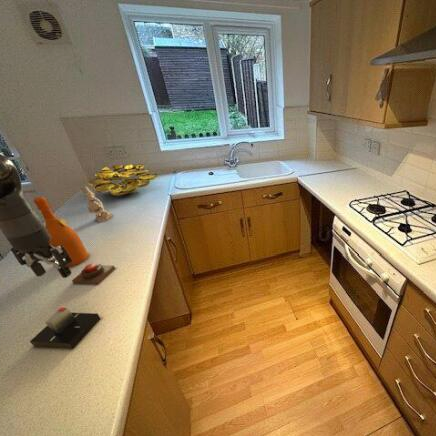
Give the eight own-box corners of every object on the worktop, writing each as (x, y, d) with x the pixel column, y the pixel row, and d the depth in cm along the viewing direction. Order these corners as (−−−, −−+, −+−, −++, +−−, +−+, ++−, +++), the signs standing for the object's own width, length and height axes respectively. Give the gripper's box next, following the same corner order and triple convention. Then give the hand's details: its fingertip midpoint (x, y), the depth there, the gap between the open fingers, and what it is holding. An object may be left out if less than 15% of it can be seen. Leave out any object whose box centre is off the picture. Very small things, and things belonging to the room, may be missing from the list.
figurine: (96, 218, 139) (80, 185, 129) (113, 214, 142) (99, 182, 132) (93, 224, 132) (76, 191, 122) (111, 221, 135) (96, 187, 125)
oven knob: (60, 334, 68) (50, 321, 66) (54, 334, 68) (44, 321, 66) (75, 319, 73) (67, 307, 70) (69, 319, 73) (60, 306, 70)
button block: (74, 284, 90) (69, 276, 88) (93, 269, 98) (88, 261, 96) (98, 285, 90) (94, 277, 88) (116, 269, 97) (112, 261, 96)
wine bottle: (74, 269, 98) (34, 203, 84) (54, 268, 100) (12, 202, 85) (95, 255, 107) (62, 193, 92) (76, 253, 108) (41, 192, 94)
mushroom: (96, 211, 147) (83, 184, 139) (92, 191, 178) (82, 168, 170) (166, 193, 169) (159, 169, 161) (152, 178, 200) (145, 157, 192)
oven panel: (35, 348, 68) (29, 341, 67) (66, 318, 77) (61, 311, 75) (74, 350, 67) (68, 343, 66) (101, 320, 76) (97, 313, 74)
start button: (83, 272, 91) (81, 269, 90) (91, 266, 94) (89, 263, 93) (92, 273, 90) (90, 269, 90) (99, 266, 94) (98, 263, 93)
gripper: (-16, 235, 61) (20, 283, 69) (33, 237, 60) (64, 285, 68) (16, 221, 68) (45, 266, 75) (61, 222, 66) (87, 268, 74)
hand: (54, 275), depth 72 cm, fingers open, 8 cm apart
